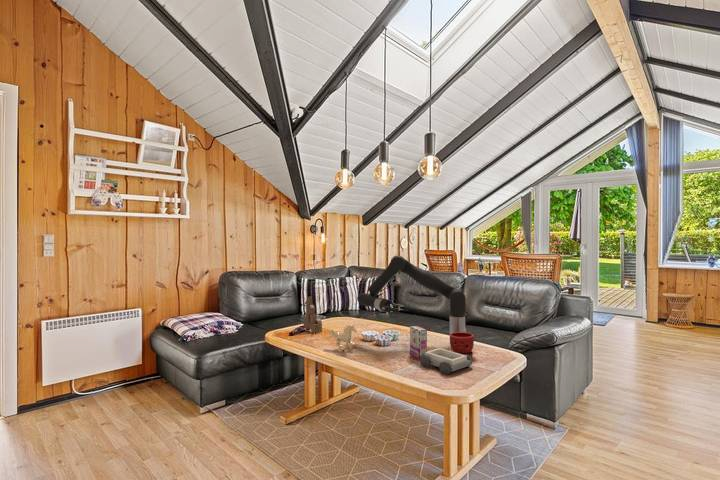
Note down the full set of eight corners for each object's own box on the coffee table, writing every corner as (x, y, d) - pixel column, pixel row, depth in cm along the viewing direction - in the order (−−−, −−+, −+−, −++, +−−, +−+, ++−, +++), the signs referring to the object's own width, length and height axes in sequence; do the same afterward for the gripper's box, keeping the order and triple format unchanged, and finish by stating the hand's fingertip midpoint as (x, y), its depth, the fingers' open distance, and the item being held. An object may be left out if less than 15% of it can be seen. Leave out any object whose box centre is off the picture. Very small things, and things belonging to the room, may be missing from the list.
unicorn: (327, 348, 230) (327, 319, 229) (331, 346, 233) (331, 318, 233) (355, 353, 219) (354, 323, 218) (358, 351, 222) (358, 322, 222)
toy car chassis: (442, 358, 209) (442, 346, 209) (473, 368, 193) (473, 355, 193) (419, 365, 198) (419, 352, 198) (450, 376, 182) (450, 362, 182)
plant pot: (476, 354, 216) (476, 333, 216) (470, 360, 204) (470, 338, 204) (453, 350, 222) (453, 330, 222) (446, 357, 211) (446, 335, 211)
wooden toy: (322, 332, 267) (322, 296, 267) (314, 334, 263) (314, 297, 262) (309, 328, 279) (309, 294, 278) (302, 330, 274) (301, 295, 274)
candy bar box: (427, 360, 206) (427, 329, 206) (419, 361, 205) (419, 330, 204) (417, 354, 217) (417, 325, 217) (409, 355, 215) (409, 326, 215)
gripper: (375, 299, 226) (395, 305, 214) (391, 297, 236) (411, 302, 224) (374, 312, 227) (394, 318, 215) (391, 309, 236) (411, 315, 224)
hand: (403, 310), depth 219 cm, fingers open, 8 cm apart
